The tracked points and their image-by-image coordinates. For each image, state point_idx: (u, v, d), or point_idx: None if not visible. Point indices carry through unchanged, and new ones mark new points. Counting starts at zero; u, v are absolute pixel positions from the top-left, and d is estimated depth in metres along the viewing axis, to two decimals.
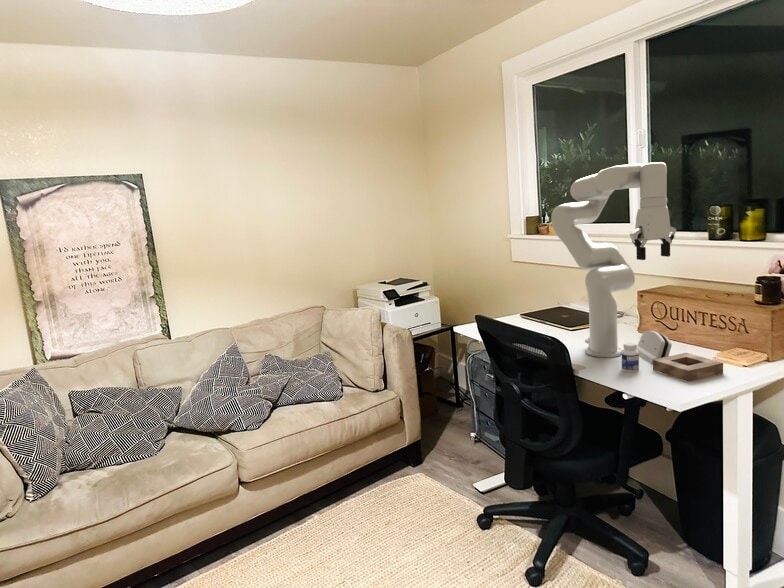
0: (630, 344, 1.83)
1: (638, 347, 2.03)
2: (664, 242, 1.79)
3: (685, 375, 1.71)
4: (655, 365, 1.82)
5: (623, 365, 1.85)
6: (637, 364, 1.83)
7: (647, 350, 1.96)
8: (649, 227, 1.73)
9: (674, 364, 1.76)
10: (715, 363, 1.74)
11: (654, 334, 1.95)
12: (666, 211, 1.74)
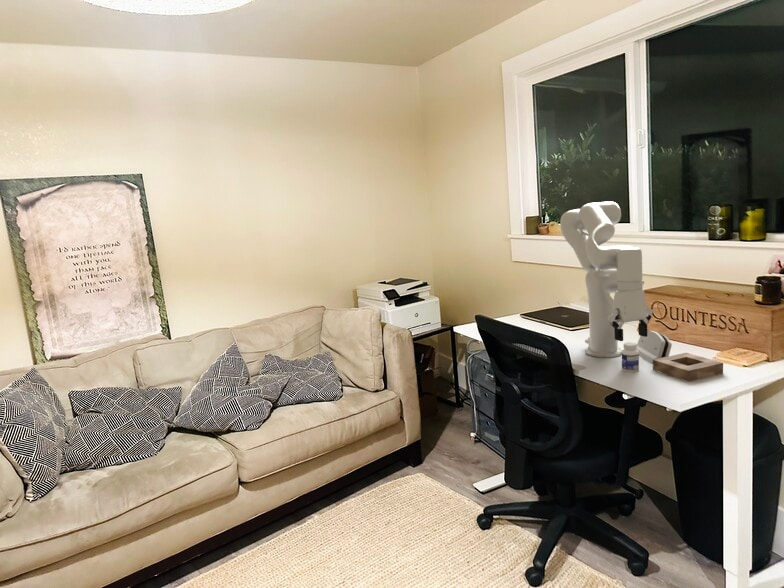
0: (630, 344, 1.83)
1: (637, 347, 2.03)
2: (641, 322, 1.84)
3: (685, 375, 1.71)
4: (655, 365, 1.82)
5: (623, 365, 1.85)
6: (637, 364, 1.83)
7: (647, 350, 1.97)
8: (625, 310, 1.78)
9: (674, 364, 1.76)
10: (715, 363, 1.74)
11: (654, 334, 1.95)
12: (642, 294, 1.80)
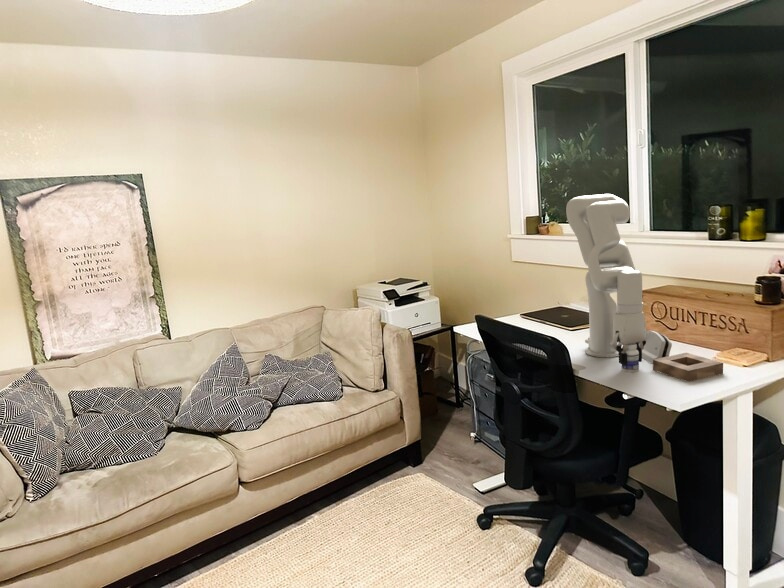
0: (630, 344, 1.83)
1: None
2: None
3: (685, 375, 1.71)
4: (655, 365, 1.82)
5: (623, 365, 1.85)
6: (637, 364, 1.83)
7: (646, 350, 1.97)
8: (625, 332, 1.80)
9: (674, 364, 1.76)
10: (715, 363, 1.74)
11: (653, 334, 1.95)
12: (642, 316, 1.81)
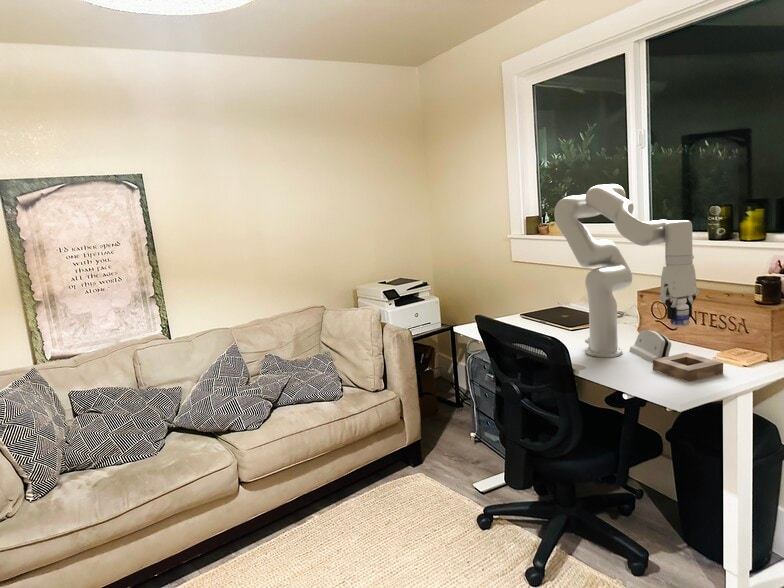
0: (679, 298, 1.75)
1: (635, 347, 2.03)
2: None
3: (685, 375, 1.71)
4: (655, 365, 1.82)
5: (672, 320, 1.76)
6: (687, 319, 1.75)
7: (646, 349, 1.97)
8: (675, 285, 1.72)
9: (674, 364, 1.76)
10: (715, 363, 1.74)
11: (653, 333, 1.96)
12: (692, 268, 1.73)
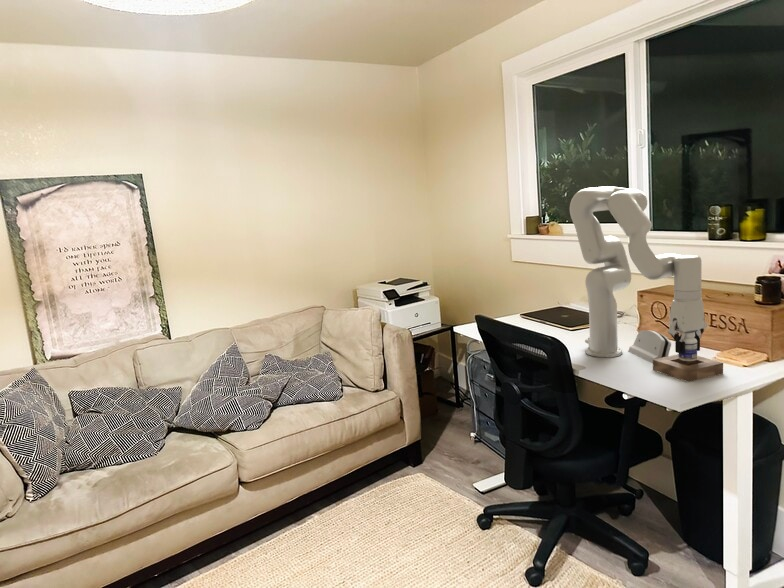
0: (688, 332, 1.76)
1: (634, 347, 2.03)
2: None
3: (685, 375, 1.71)
4: (655, 365, 1.82)
5: (680, 354, 1.77)
6: (696, 353, 1.76)
7: (645, 349, 1.97)
8: (684, 320, 1.73)
9: (674, 364, 1.76)
10: (715, 363, 1.74)
11: (652, 333, 1.96)
12: (701, 303, 1.74)
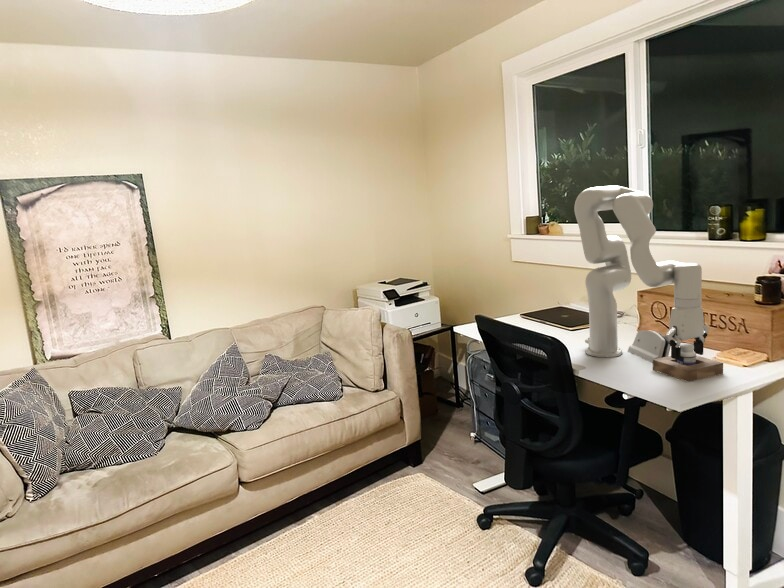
0: (687, 345, 1.77)
1: (634, 346, 2.04)
2: (697, 340, 1.79)
3: (685, 375, 1.71)
4: (655, 365, 1.82)
5: None
6: None
7: (645, 349, 1.98)
8: (683, 328, 1.73)
9: (674, 364, 1.76)
10: (715, 363, 1.74)
11: (652, 333, 1.96)
12: (700, 311, 1.75)
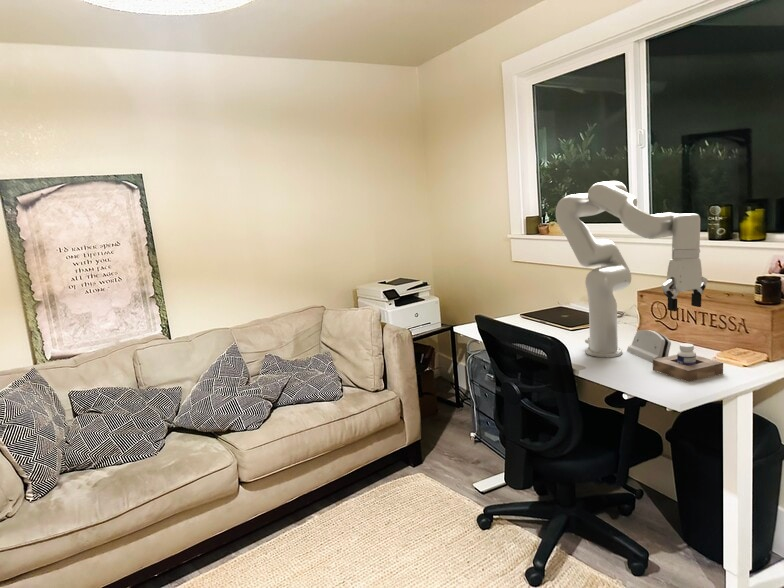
0: (687, 345, 1.77)
1: (633, 346, 2.04)
2: (695, 292, 1.77)
3: (685, 375, 1.71)
4: (655, 365, 1.82)
5: None
6: None
7: (645, 349, 1.98)
8: (681, 279, 1.71)
9: (674, 364, 1.76)
10: (715, 363, 1.74)
11: (651, 333, 1.96)
12: (698, 262, 1.73)
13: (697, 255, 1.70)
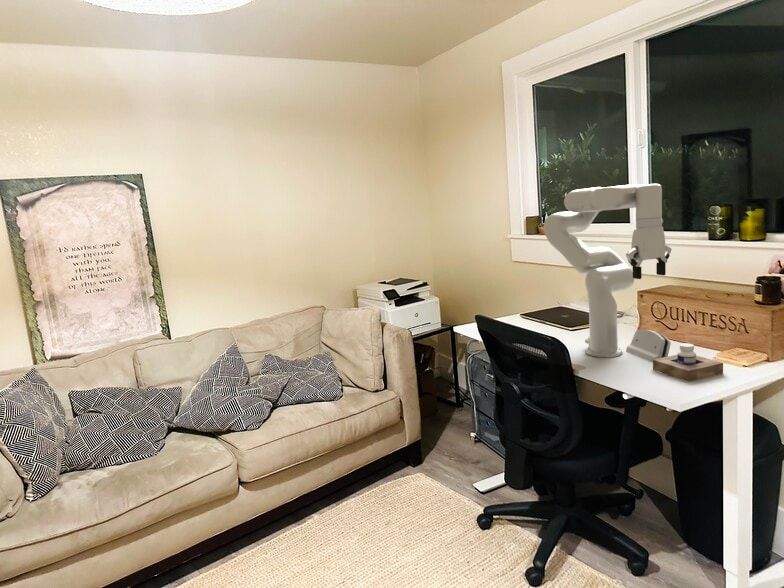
0: (687, 345, 1.77)
1: (632, 346, 2.04)
2: (659, 261, 1.83)
3: (685, 375, 1.71)
4: (655, 365, 1.82)
5: None
6: None
7: (644, 349, 1.98)
8: (644, 247, 1.77)
9: (674, 364, 1.76)
10: (715, 363, 1.74)
11: (651, 333, 1.97)
12: (661, 231, 1.78)
13: (659, 224, 1.76)
